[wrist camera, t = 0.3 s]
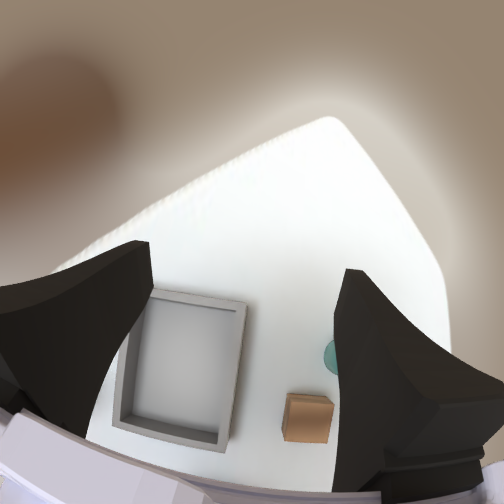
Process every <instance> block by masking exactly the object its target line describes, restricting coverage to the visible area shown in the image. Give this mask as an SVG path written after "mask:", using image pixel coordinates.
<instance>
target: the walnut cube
mask: <svg viewBox="0 0 504 504" xmlns="http://www.w3.org/2000/svg"><path fill="white" fill-rule="evenodd" d="M334 405H335V404H334V403H332V402H331V401H330V400H329V399H328V398H327V397H326V396H312V395H299V394H288V393H287V398H286V405H285V411H284V417H283V423H282V433H283V437H284V441H289V442H304V443H327V442H328V437H329V432H330V426H331V421H332V416H333V410H334Z"/></svg>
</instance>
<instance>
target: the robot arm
mask: <svg viewBox="0 0 504 504" xmlns="http://www.w3.org/2000/svg"><path fill="white" fill-rule="evenodd" d="M153 288H154V285H153V277H152V267H151V258H150V247H149V242H145V241H138V240H134V241H130V242H127V243H125V244H122V245H120V246H118V247H115V248H113V249H111V250H109V251H106V252H104V253H102V254H100V255H98V256H96V257H93V258H91V259H89V260H86V261H84V262H82V263H79V264H77V265H75V266H72V267H70V268H68V269H65V270H62V271H60V272H57V273H54V274H51V275H48V276H45V277H41V278H38V279H34V280H30V281H26V282H22V283H18V284H13V285H7V286H1V287H0V475H1V476H2V477H3V478H5V479H4V481H3V483H2V485H1V487H0V504H504V460H500V461H497V462H493V463H490V464H488V465H486V466H484V467H482V468H481V465H480V460H479V459H482V458H483V457H484V455H485V453H484V450H483V445H484V444H485V443H486V442H487V441H488V440H489V439H490V438H491V437H492V436H493V435H494V434H495V433H496V432H497V431H498V430H499V429H500V428H501V427H502V426H503V425H504V383H503V382H502V381H500V380H498V379H496V378H494V377H492V376H489V375H487V374H485V373H483V372H481V371H479V370H477V369H475V368H473V367H472V366H470V365H468V364H466V363H465V362H463V361H461V360H460V359H458V358H457V357H455V356H453V355H452V354H450V353H449V352H447V351H446V350H445V349H443V348H442V347H440V346H439V345H438V344H436V343H435V342H434V341H432V340H431V339H430V338H428V337H427V336H426V335H425V334H424V333H423V332H421V331H420V330H419V329H418V328H417V327H415V326H414V325H413V324H412V323H411V322H410V321H409V320H408V319H407V318H406V317H405V316H404V315H403V314H402V313H401V312H400V311H399V310H398V309H397V308H396V307H395V306H394V305H393V304H392V303H391V302H390V300H389V299H388V298H387V297H386V296H385V295H384V294H383V293H382V292H381V290H380V289H379V288H378V287H377V286H376V285H375V284H374V282H373V281H372V280H371V279H370V278H369V277H368V276H367V275H366V273H365V272H363V271H362V270H354V269H347V268H346V271H345V275H344V278H343V282H342V286H341V290H340V294H339V297H338V301H337V305H336V308H335V312H334V344H335V353H336V361H337V370H338V379H339V389H340V415H339V433H338V446H337V456H336V465H335V473H334V479H333V486H332V492H331V493H330V492H302V491H288V490H277V489H268V488H260V487H252V486H245V485H239V484H233V483H227V482H222V481H217V480H212V479H207V478H202V477H198V476H194V475H189V474H185V473H181V472H178V471H174V470H170V469H167V468H163V467H160V466H156V465H153V464H150V463H147V462H143V461H140V460H137V459H134V458H132V457H129V456H126V455H123V454H120V453H118V452H115V451H112V450H110V449H107V448H105V447H102V446H100V445H97V444H95V443H93V442H90V441H88V440H86V439H85V438H86V434H87V430H88V426H89V422H90V418H91V415H92V412H93V409H94V406H95V403H96V400H97V397H98V394H99V391H100V389H101V386H102V384H103V381H104V378H105V376H106V374H107V372H108V369H109V367H110V365H111V363H112V360H113V358H114V356H115V355H116V353H117V351H118V349H119V348H120V346H121V344H122V343H123V341H124V340H125V338H126V336H127V335H128V333H129V332H130V330H131V328H132V327H133V325H134V324H135V322H136V321H137V319H138V317H139V316H140V314H141V313H142V311H143V309H144V308H145V306H146V304H147V301H148V299H149V297H150V295H151V292H152V290H153Z"/></svg>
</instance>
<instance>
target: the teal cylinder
mask: <svg viewBox="0 0 504 504" xmlns="http://www.w3.org/2000/svg"><path fill="white" fill-rule="evenodd" d="M324 362H325V365H326V367H327V368H328V369H329V370H330V371H331V372H332V373H334V374H336V375H338V370H337V361H336V353H335V344H334V340H333V341H332V342H331V343H329V345H328V346H327V348H326V350H325V353H324Z"/></svg>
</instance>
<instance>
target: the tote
mask: <svg viewBox="0 0 504 504" xmlns="http://www.w3.org/2000/svg"><path fill="white" fill-rule="evenodd" d="M247 307H248V306H247V303H245V302H237V301H230V300H224V299H217V298H210V297H204V296H197V295H191V294H185V293H179V292H173V291H167V290H161V289H155V288H153V290H152V292H151V295H150V297H149V299H148V301H147V304H146V306H145V308H144V309H143V311H142V313H141V314H140V316H139V317H138V319H137V321H136V322H135V324H134V325H133V327H132V328H131V330H130V332H129V333H128V335H127V336H126V338H125V340H124V341H123V343H122V344H121V346H120V348H119V356H118V364H117V373H116V382H115V392H114V404H113V417H112V426H114V427H117V428H120V429H123V430H126V431H129V432H133V433H136V434H140V435H143V436H147V437H150V438H154V439H158V440H162V441H166V442H170V443H174V444H179V445H183V446H188V447H193V448H198V449H203V450H208V451H214V452H220V453H225V451H226V447H227V443H228V439H229V433H230V426H231V419H232V412H233V405H234V398H235V391H236V384H237V377H238V370H239V363H240V356H241V349H242V342H243V335H244V328H245V321H246V314H247Z"/></svg>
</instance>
